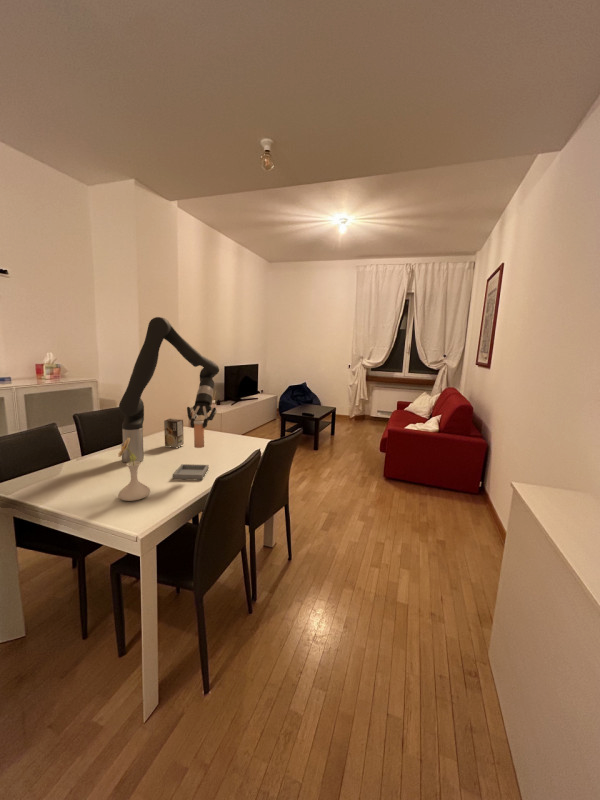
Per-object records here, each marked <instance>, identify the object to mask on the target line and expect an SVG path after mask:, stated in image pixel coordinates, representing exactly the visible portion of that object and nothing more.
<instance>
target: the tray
mask: <svg viewBox="0 0 600 800" xmlns="http://www.w3.org/2000/svg"><path fill="white" fill-rule="evenodd" d="M209 468H210V466H209V464H194V463H193V464H192V463H191V464H190V463H189V464H187V463H185V464H183V463H182V464H180V465H179V467H178V468H177V469H175V471H174V472H173V473H172V480H173V479H197V480H196V481H203V479H204V478H205V476H206V475H207V473H208V472H209V470H210V469H209ZM208 469H209V470H208ZM207 471H208V472H207ZM206 472H207V473H206ZM205 474H206V475H205ZM203 477H204V478H203Z"/></svg>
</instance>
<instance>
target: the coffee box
mask: <svg viewBox="0 0 600 800" xmlns="http://www.w3.org/2000/svg"><path fill="white" fill-rule="evenodd" d="M163 427H164V430H163V431H164V447H165V446H171V447H179V446H181V445H183V444H184V419H178V418H168V419H165V420H163Z"/></svg>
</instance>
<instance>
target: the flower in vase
mask: <svg viewBox="0 0 600 800" xmlns="http://www.w3.org/2000/svg"><path fill="white" fill-rule="evenodd" d="M129 441H130V438H129V439H128V438H127V441H126V440H125V443H124V446H122V447H121V446H120V447H121V448H120V451H119V452H118V457H119V458H120V457H121V458H122V454H123V453H124V451H125V450H126V449H128V447H127V446H128V444H129ZM121 449H122V450H121ZM128 450H129V449H128ZM129 452H130V450H129ZM130 454H131V455H130V457H129V458H130V459H131V461H130V462H129V463H125V464H126V467H128V469H129V473H130V481H129V482H128V484H127V485H125V486H124V487H123V488H122V489H121V490H119V492H118V494H117V497H118V498H119V499H120V500H122V501H129V502H131V501H132V502H133V501H134V502H135V501H139V500H141V499H144V498H146V497H148V496H149V495H150V493H151V489H150V487H148V486H147V485H146V484H145V483H142V482H140V481H139V479H138V469H139V467H140V465H141V462H142V461H141V462H137V461H135V460H136V459H137V457H136V456H135V455H134V453H131V452H130ZM132 461H133V462H132Z"/></svg>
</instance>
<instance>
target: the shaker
mask: <svg viewBox="0 0 600 800" xmlns="http://www.w3.org/2000/svg"><path fill="white" fill-rule="evenodd" d="M203 423H204V419H196V420H194V428H193V440H194V442H193V443H194V444H193V445H194V448H196V449H202V448H204V447H205V428H203Z"/></svg>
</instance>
